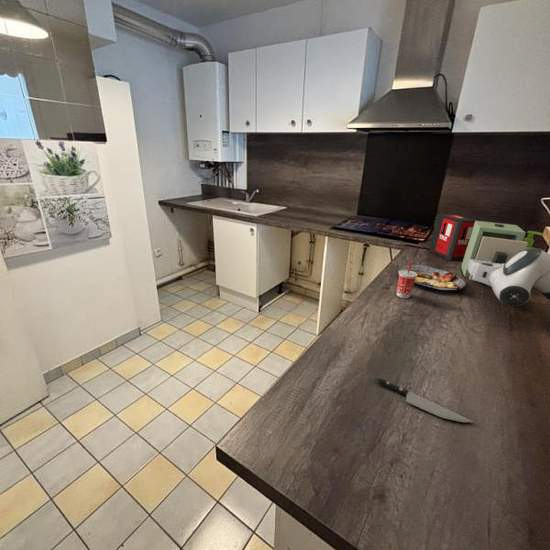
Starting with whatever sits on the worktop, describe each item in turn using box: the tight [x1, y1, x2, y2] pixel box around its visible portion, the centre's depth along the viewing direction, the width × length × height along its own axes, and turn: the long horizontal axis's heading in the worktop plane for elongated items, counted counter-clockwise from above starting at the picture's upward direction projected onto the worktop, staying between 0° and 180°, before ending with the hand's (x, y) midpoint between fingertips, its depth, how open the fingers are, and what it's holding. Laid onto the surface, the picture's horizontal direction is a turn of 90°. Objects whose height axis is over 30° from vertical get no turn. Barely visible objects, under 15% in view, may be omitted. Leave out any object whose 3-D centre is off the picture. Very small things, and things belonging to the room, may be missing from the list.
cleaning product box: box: [428, 213, 478, 262], centre depth 149 cm, size 16×9×20 cm, turn 10°
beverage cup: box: [396, 259, 417, 299], centre depth 105 cm, size 6×6×14 cm
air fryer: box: [461, 220, 527, 279], centre depth 124 cm, size 14×15×23 cm
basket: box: [468, 236, 528, 282], centre depth 116 cm, size 17×14×18 cm
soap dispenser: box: [523, 230, 545, 250], centre depth 126 cm, size 6×7×20 cm
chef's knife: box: [376, 377, 474, 423], centre depth 61 cm, size 19×1×3 cm
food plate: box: [397, 264, 467, 292], centre depth 120 cm, size 25×23×4 cm
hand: (497, 263), depth 111 cm, fingers closed on basket, 3 cm apart
